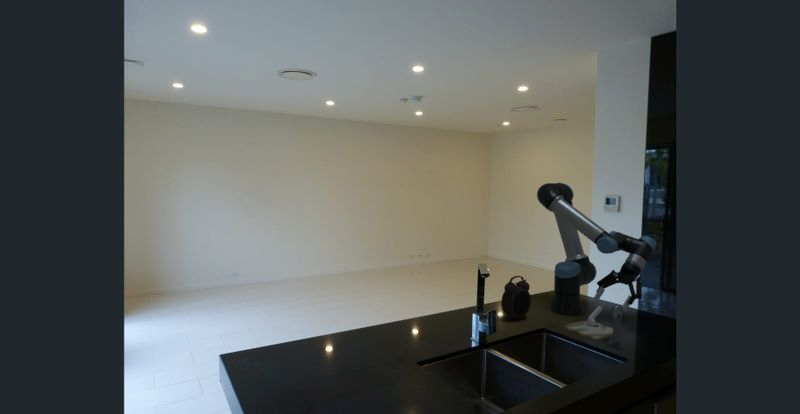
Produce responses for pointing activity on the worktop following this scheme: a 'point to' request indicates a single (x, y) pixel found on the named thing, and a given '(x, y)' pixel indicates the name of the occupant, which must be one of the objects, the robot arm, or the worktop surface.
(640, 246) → the robot arm
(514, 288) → the alarm clock
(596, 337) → the pad
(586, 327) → the hook
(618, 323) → the eye post
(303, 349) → the worktop surface
